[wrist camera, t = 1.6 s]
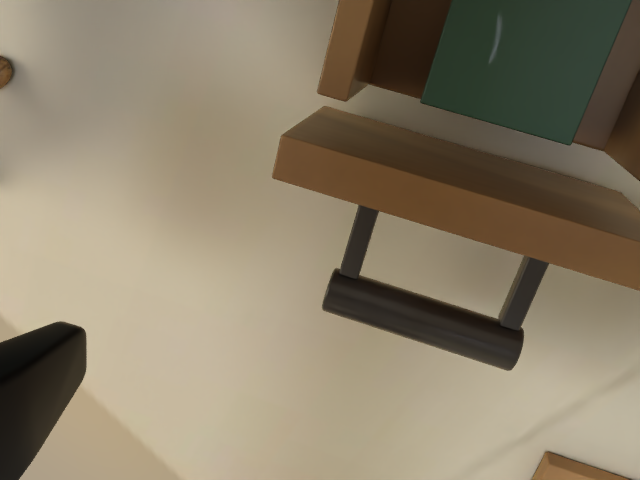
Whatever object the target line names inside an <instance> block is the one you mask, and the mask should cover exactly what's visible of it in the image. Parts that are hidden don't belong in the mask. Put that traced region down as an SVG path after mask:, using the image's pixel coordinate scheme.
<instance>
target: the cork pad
mask: <svg viewBox="0 0 640 480" xmlns="http://www.w3.org/2000/svg"><path fill="white" fill-rule="evenodd" d="M532 480H629V479H626V478H623V477H620V476H617V475H614V474H611V473H608V472H606V471H603V470H600V469H597V468H594V467H591V466H588V465H585V464H582V463H579V462H576V461H573V460H570V459H567V458H564V457H561V456H558V455H555V454H552V453H549V452H546V453H545V455H544V457H543V459H542V461H541V463H540V465H539V467H538V469H537V470H536V472H535V474H534V476H533V478H532Z"/></svg>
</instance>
